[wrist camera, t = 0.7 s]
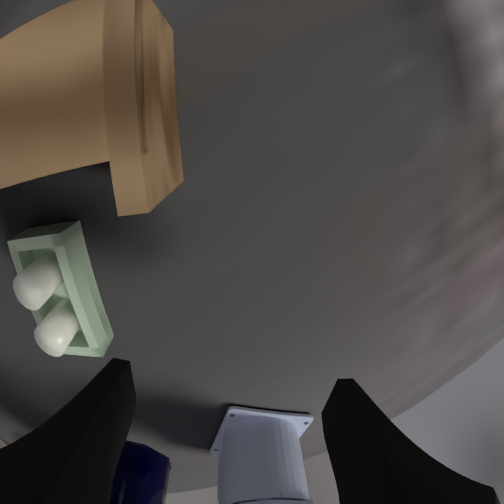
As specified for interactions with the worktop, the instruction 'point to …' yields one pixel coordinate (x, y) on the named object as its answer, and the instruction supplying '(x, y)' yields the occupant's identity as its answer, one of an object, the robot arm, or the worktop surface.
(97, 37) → the wooden arch bridge
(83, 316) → the tray
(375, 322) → the worktop surface
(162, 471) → the bottle
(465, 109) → the worktop surface
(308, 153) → the worktop surface
